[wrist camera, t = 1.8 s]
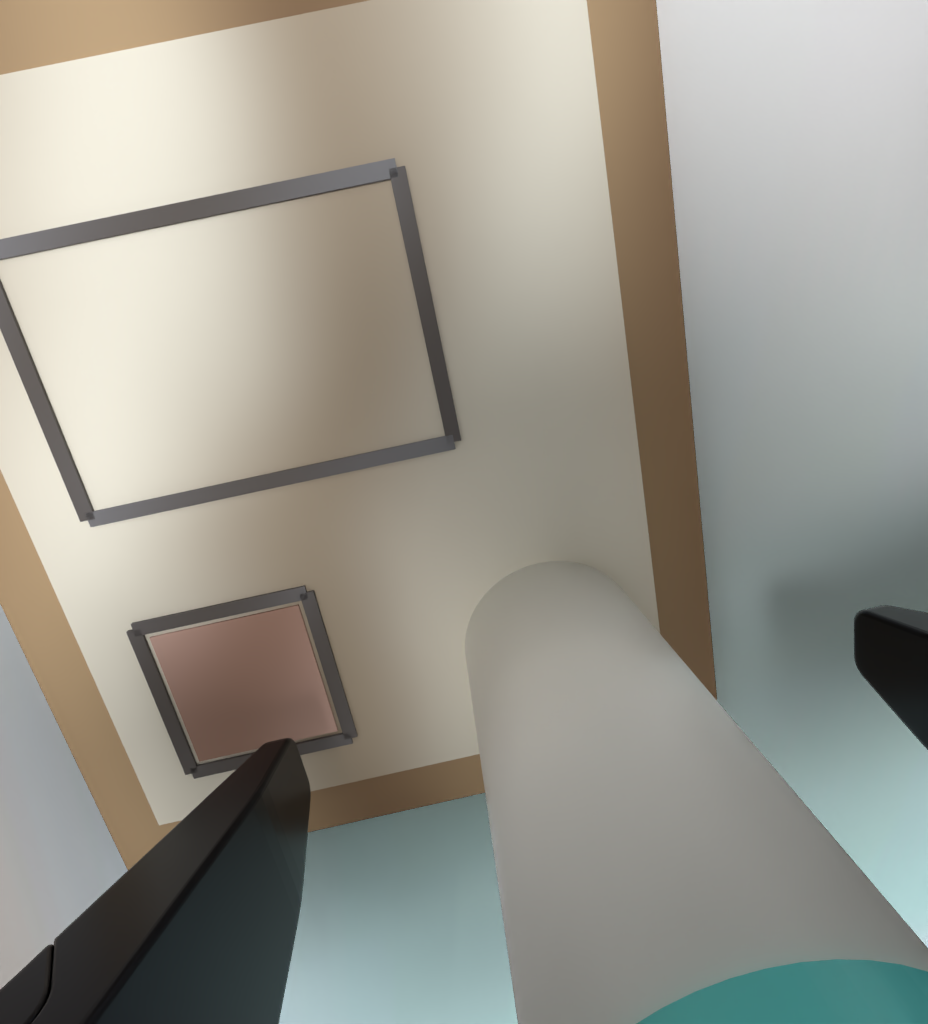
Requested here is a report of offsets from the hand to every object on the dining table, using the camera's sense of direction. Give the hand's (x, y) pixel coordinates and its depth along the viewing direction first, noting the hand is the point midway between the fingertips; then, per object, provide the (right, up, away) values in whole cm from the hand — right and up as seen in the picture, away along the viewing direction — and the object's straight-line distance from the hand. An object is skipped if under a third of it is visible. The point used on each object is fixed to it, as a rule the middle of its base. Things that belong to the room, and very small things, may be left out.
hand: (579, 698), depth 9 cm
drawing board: (-4, +4, +1) cm, 6 cm away
